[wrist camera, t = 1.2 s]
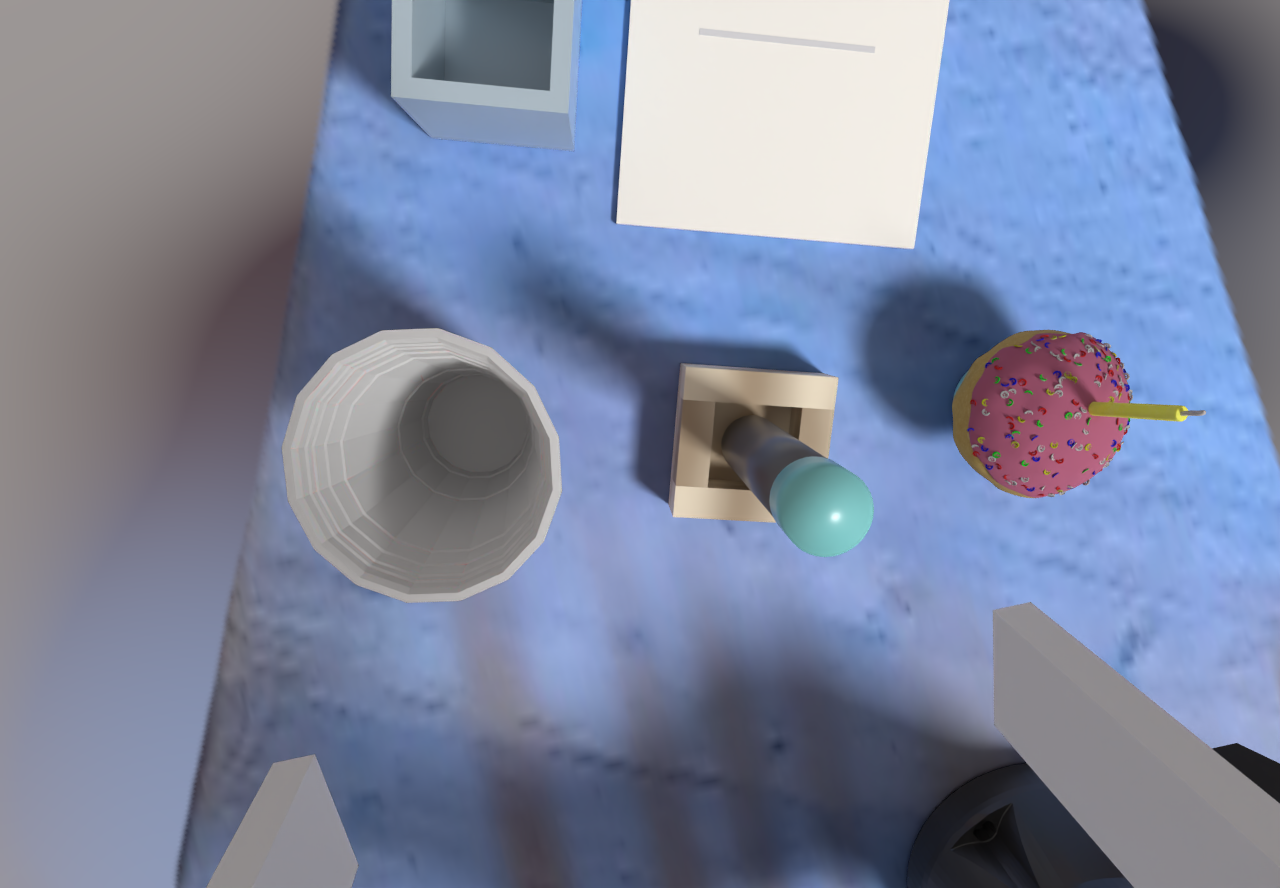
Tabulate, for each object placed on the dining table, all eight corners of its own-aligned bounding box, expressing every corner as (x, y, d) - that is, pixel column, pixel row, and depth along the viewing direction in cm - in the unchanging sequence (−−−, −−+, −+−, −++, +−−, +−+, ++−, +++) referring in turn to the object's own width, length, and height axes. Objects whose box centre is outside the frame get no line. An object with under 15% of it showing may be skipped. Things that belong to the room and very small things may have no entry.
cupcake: (1021, 296, 39) (1207, 290, 27) (1091, 419, 40) (1295, 465, 28) (891, 386, 39) (1017, 418, 27) (965, 504, 41) (1114, 583, 29)
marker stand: (823, 373, 39) (838, 377, 36) (806, 511, 40) (819, 524, 38) (680, 363, 38) (685, 366, 36) (668, 504, 40) (673, 516, 37)
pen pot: (582, -3, 34) (578, -81, 28) (574, 151, 36) (568, 113, 29) (434, -19, 34) (392, -102, 27) (431, 138, 35) (390, 96, 28)
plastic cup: (434, 282, 37) (356, 268, 25) (610, 388, 38) (616, 423, 26) (338, 455, 38) (221, 521, 26) (512, 551, 40) (475, 653, 28)
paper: (952, -38, 35) (955, -41, 35) (911, 249, 38) (914, 248, 37) (636, -75, 34) (636, -78, 34) (616, 224, 37) (616, 223, 36)
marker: (779, 413, 38) (879, 470, 25) (772, 471, 39) (866, 559, 25) (720, 409, 38) (788, 465, 25) (714, 468, 39) (778, 554, 25)
